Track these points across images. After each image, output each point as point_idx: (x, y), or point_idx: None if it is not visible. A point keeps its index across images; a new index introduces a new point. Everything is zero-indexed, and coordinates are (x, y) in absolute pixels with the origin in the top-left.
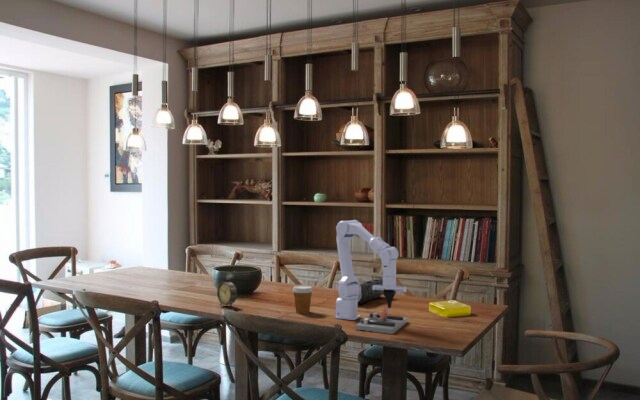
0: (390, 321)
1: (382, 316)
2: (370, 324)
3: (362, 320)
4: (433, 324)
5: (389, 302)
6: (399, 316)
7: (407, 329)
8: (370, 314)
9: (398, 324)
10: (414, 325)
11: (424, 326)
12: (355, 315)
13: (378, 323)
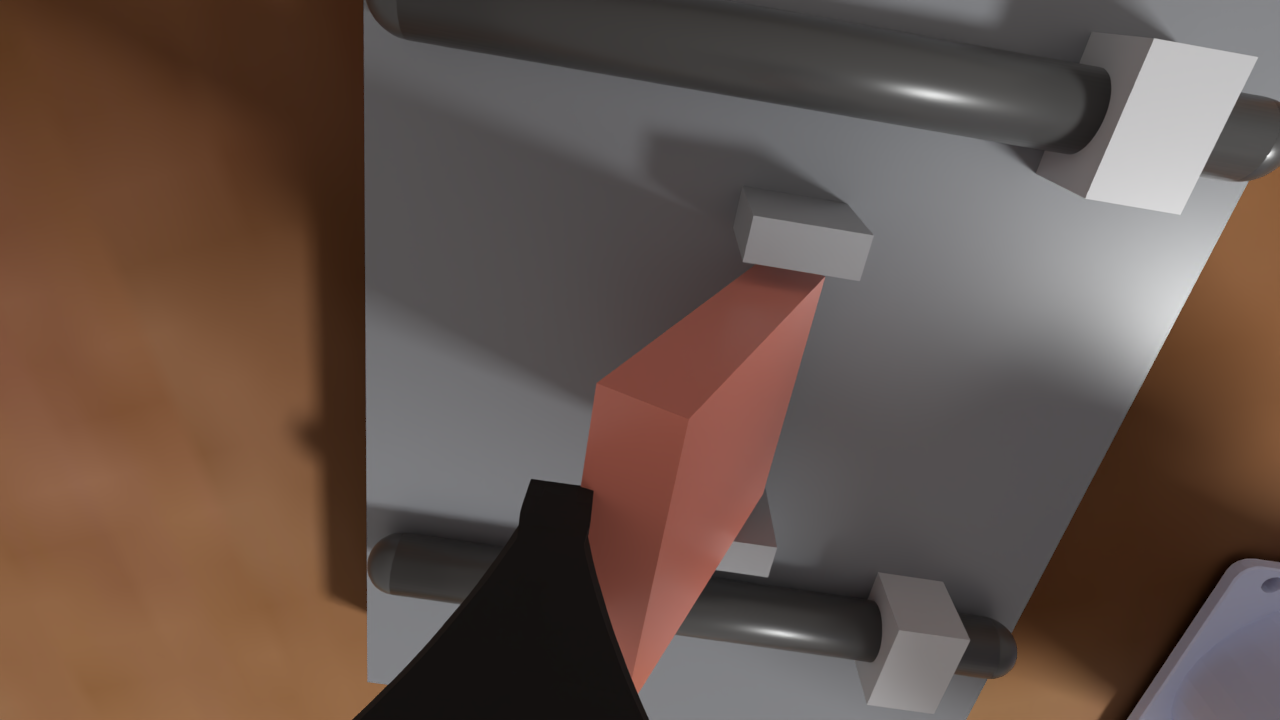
0: (583, 393)
1: (743, 298)
2: (1007, 7)
3: (1250, 101)
4: (4, 595)
5: (494, 595)
6: (438, 591)
7: (243, 208)
8: (1004, 643)
9: (368, 195)
10: (231, 488)
11: (67, 468)
12: (1242, 675)
13: (810, 14)
